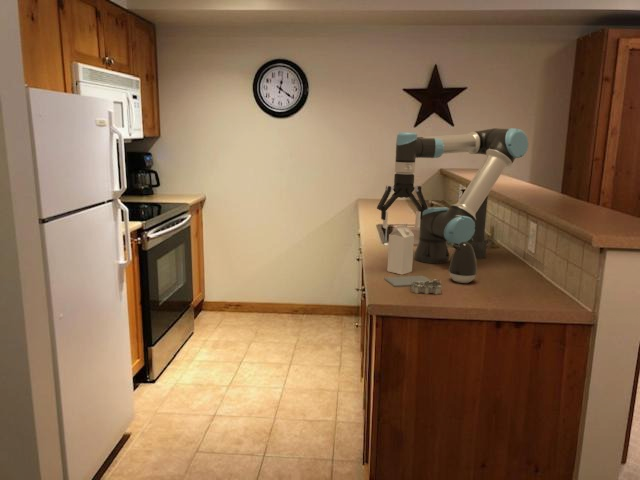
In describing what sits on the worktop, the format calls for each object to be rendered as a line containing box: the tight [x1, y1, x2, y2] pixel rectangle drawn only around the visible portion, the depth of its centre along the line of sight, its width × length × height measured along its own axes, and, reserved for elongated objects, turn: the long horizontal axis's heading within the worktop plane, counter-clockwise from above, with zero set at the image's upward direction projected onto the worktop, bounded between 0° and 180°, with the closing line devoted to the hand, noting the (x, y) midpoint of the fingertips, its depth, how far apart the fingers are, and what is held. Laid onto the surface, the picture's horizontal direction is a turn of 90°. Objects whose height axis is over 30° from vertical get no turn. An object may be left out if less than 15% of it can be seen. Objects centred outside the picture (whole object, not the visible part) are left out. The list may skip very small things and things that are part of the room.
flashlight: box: [470, 195, 489, 260], centre depth 238 cm, size 7×28×7 cm
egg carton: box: [410, 278, 443, 295], centre depth 188 cm, size 11×8×4 cm
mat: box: [383, 275, 432, 288], centre depth 199 cm, size 16×10×1 cm, turn 104°
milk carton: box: [386, 223, 415, 276], centre depth 211 cm, size 7×7×19 cm
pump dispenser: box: [448, 241, 478, 284], centre depth 199 cm, size 10×10×15 cm
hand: (401, 227), depth 209 cm, fingers open, 13 cm apart
